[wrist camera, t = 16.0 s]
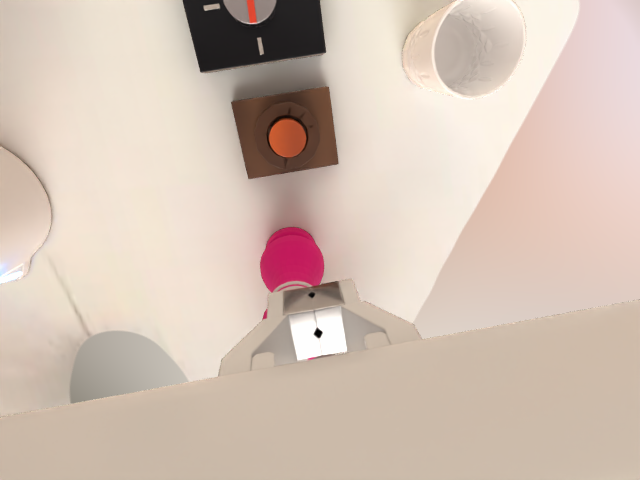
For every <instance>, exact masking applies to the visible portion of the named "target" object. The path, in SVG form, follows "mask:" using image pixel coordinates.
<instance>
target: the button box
mask: <svg viewBox="0 0 640 480" xmlns="http://www.w3.org/2000/svg"><path fill="white" fill-rule="evenodd" d="M231 104H232V109H233V113H234V117H235V122H236V126H237V131H238V135H239V139H240V144H241V148H242V153H243V157H244V161H245V166H246V170H247V174H248V179H253V178H259V177H265V176H270V175H276V174H282V173H288V172H294V171H300V170H306V169H312V168H318V167H324V166H330V165H336V164H338V156H337V148H336V140H335V132H334V124H333V116H332V108H331V100H330V92H329V87H328V86H325V87H319V88H312V89H306V90H300V91H294V92H288V93H281V94H275V95H269V96H263V97H256V98H250V99H244V100H238V101H233V102H231ZM283 118H291V119H294V120H296V121H298V122H299V123H300V124H301V125H302V127H303V129H304V131H305V134H306V144H305V147H304V148H303V150H302V151H301V152H300V153H299V154H298V155H296V156H293V157H283V156H280V155H278V154H277V153H276V152H275V151H274V150H273V149H272V147H271V145H270V141H269V135H270V130H271V128H272V126H273V125H274V123H275V122H277V121H278V120H280V119H283Z"/></svg>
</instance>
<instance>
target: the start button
mask: <svg viewBox="0 0 640 480" xmlns="http://www.w3.org/2000/svg"><path fill="white" fill-rule="evenodd" d="M269 141H270V145H271V147H272V149H273V150H274V151H275V152H276V153H277V154H278V155H280V156H283V157H293V156H296V155H298V154H299V153H300V152H301V151H302V150H303V148H304V147H305V144H306V134H305V131H304V129H303V127H302V125H301V124H300V123H299V122H298V121H296V120H294V119H291V118H283V119H280V120H278V121H277V122H275V123H274V125H273V126H272V128H271V130H270V135H269Z"/></svg>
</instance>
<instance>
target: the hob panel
mask: <svg viewBox="0 0 640 480" xmlns="http://www.w3.org/2000/svg"><path fill="white" fill-rule="evenodd" d="M183 4H184V8H185V12H186V16H187V20H188V24H189V28H190V32H191V36H192V40H193V44H194V48H195V52H196V56H197V60H198V64H199V68H200V72H202V73H210V72H217V71H223V70H229V69H236V68H242V67H248V66H255V65H261V64H267V63H274V62H280V61H286V60H293V59H299V58H305V57H312V56H318V55H323V54H324V53H326V48H325V40H324V32H323V24H322V16H321V8H320V0H277V9H276V13H275V15H274V17H273V19H272V20H271V22H270V23H269V24H267V25H266V26H264V27H262V28H260V29H249V28H246V27H243V26H242V25H240V24H239V23H238V22H237V21H236V20H235V19H234V18H233V17H232V15H231V14H230V13H229V11H228V10H227V8H226V6H225V4H224V1H223V0H183Z"/></svg>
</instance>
